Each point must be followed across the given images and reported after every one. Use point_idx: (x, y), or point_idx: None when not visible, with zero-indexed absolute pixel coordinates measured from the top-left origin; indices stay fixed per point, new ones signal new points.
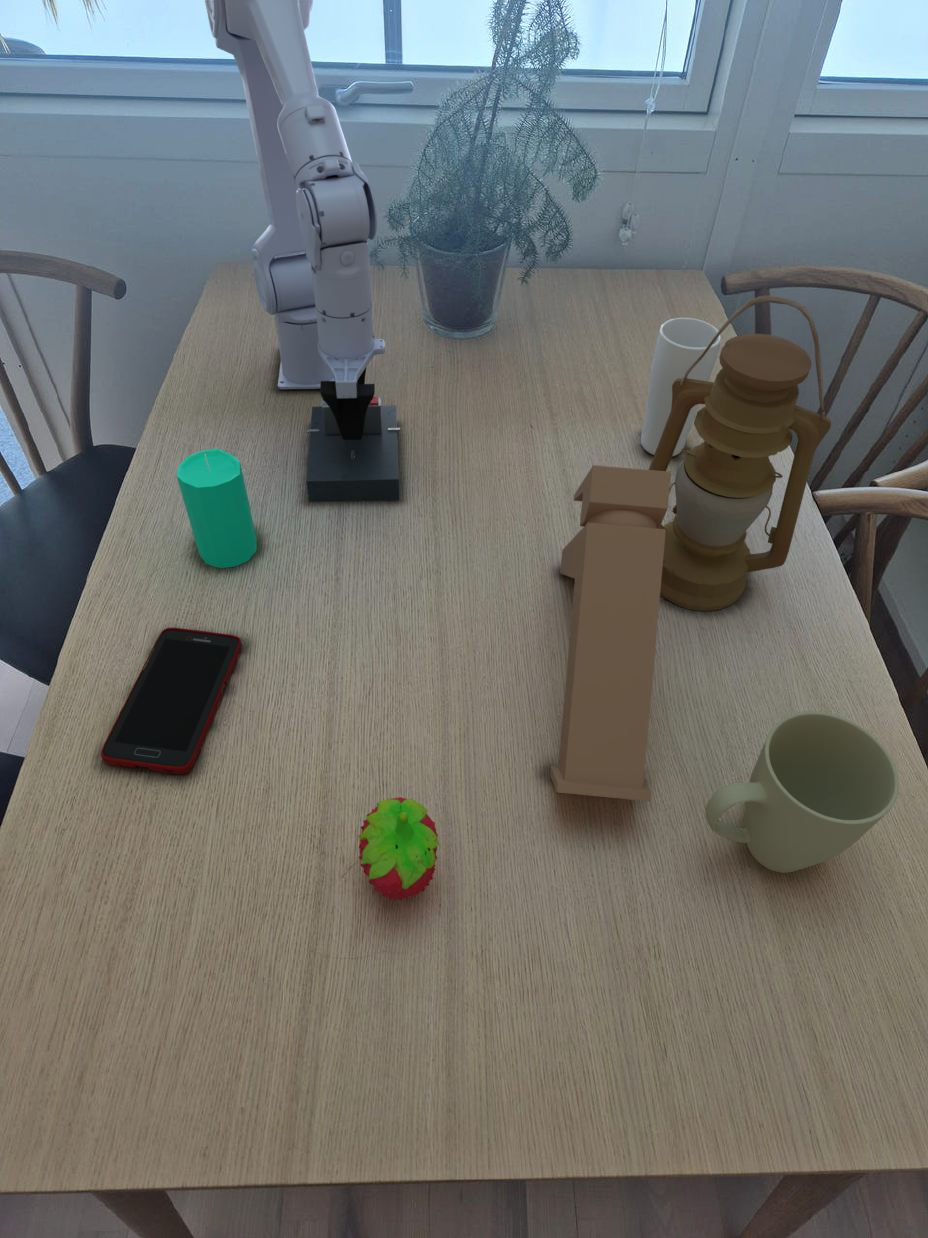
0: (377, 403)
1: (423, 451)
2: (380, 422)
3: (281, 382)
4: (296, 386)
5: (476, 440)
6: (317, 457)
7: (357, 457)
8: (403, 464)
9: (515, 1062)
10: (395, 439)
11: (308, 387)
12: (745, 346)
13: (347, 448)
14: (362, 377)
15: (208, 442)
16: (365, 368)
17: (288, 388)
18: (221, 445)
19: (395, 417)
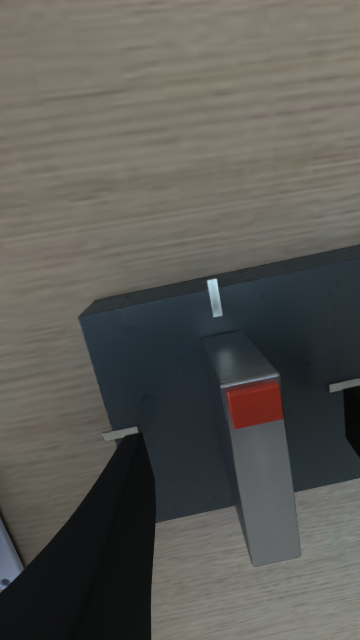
0: (278, 388)
1: (192, 207)
2: (254, 345)
3: (3, 580)
4: (11, 553)
5: (108, 35)
6: (353, 460)
7: (353, 370)
8: (253, 252)
9: None
10: (264, 283)
11: (3, 530)
12: None
13: (315, 403)
14: (126, 497)
15: (225, 617)
16: (114, 527)
17: (20, 562)
18: (231, 598)
19: (147, 305)
